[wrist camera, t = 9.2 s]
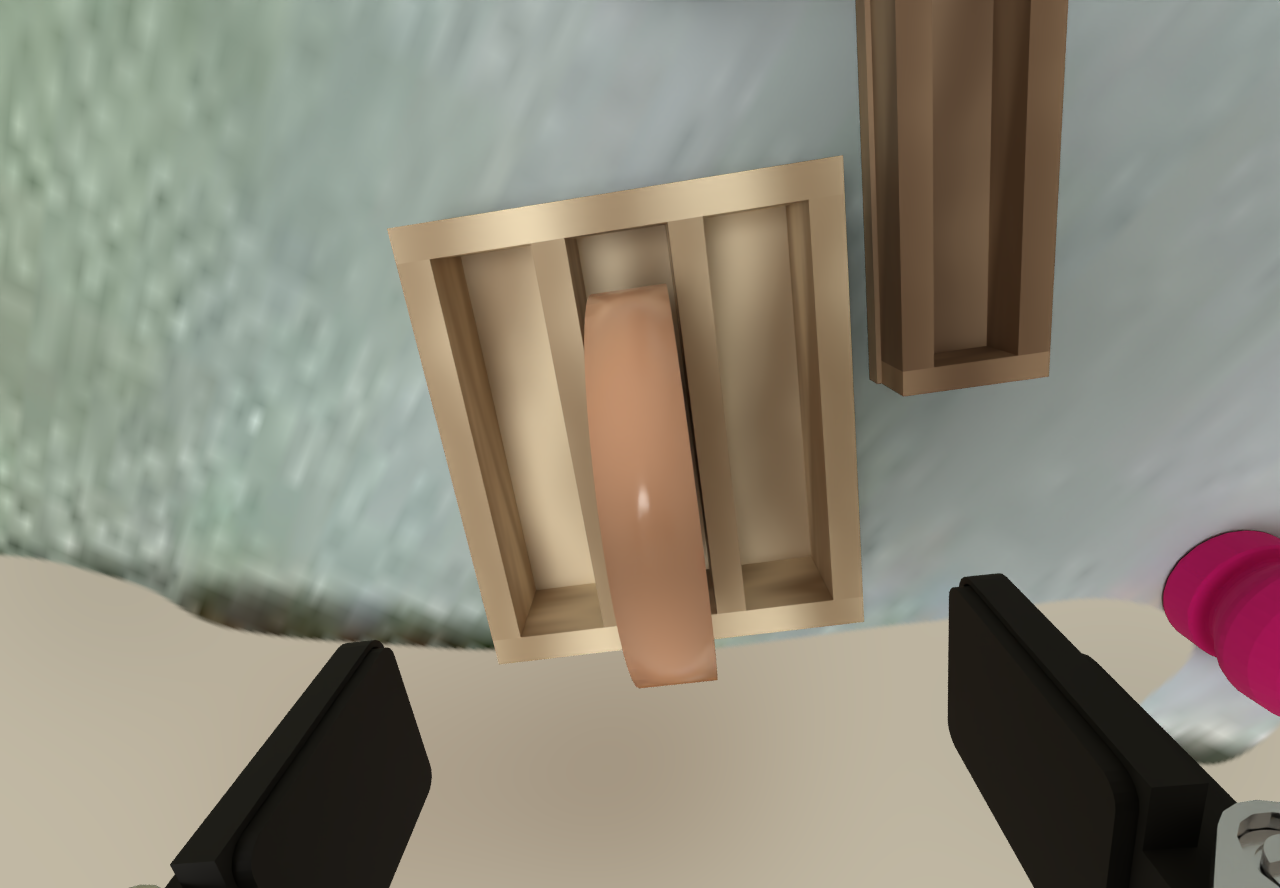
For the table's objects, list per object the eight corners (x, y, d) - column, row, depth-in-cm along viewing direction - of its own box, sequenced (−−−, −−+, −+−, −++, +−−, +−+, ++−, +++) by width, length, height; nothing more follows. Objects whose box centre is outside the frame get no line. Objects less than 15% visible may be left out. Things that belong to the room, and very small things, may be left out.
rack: (811, 170, 25) (848, 154, 21) (835, 562, 31) (868, 621, 26) (429, 231, 26) (381, 229, 22) (517, 601, 32) (494, 664, 27)
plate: (660, 257, 25) (678, 341, 13) (695, 536, 30) (730, 779, 18) (600, 266, 25) (564, 357, 13) (645, 542, 30) (648, 787, 18)
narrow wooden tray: (1020, -72, 23) (1081, -123, 20) (1006, 360, 28) (1054, 375, 24) (853, -42, 23) (886, -87, 20) (869, 379, 28) (898, 397, 25)
